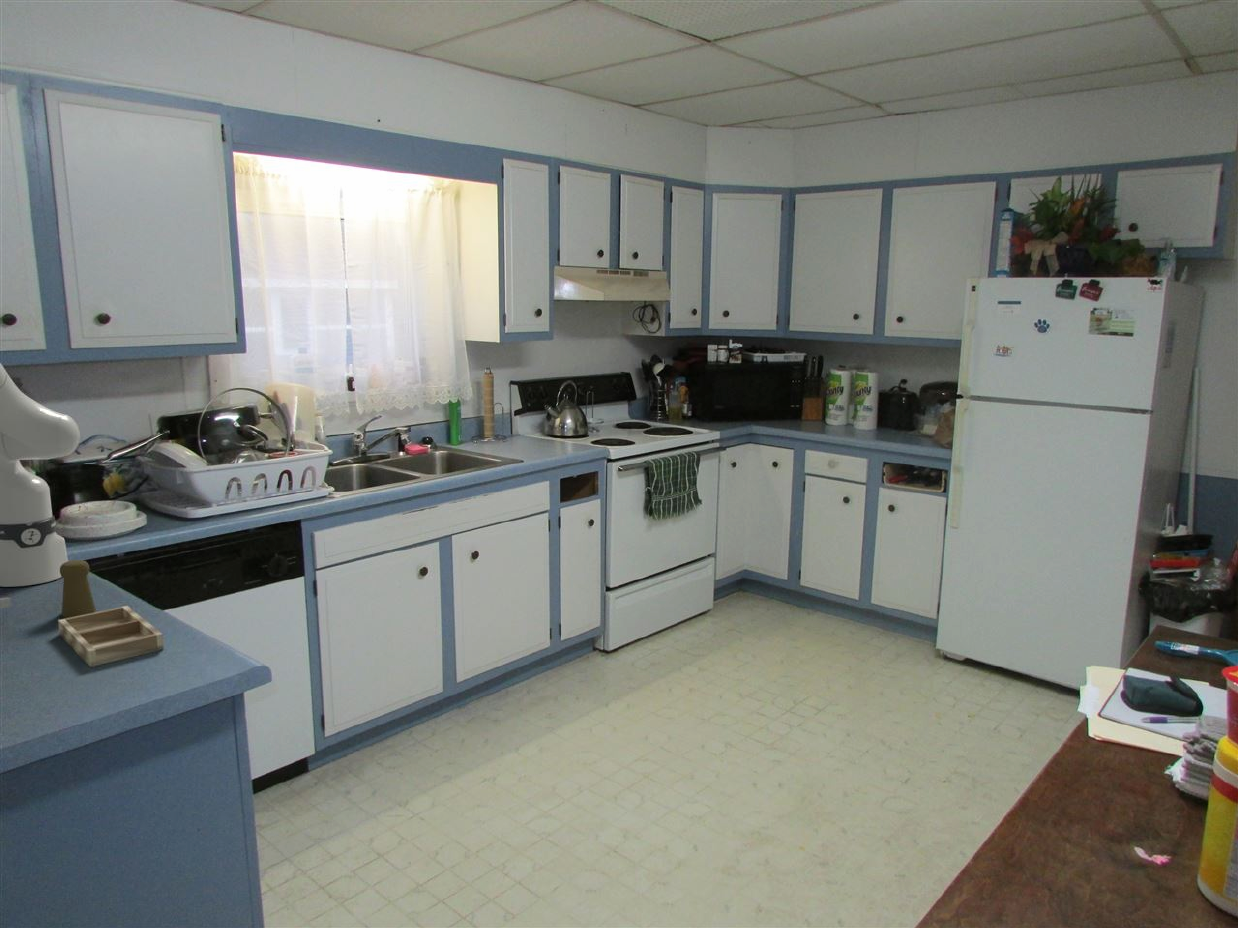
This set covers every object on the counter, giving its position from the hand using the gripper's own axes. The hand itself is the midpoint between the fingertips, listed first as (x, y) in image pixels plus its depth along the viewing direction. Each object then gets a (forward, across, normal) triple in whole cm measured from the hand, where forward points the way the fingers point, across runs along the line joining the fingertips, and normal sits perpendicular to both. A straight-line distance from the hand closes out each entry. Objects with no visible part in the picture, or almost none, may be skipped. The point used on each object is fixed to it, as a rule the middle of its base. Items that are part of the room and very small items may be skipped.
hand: (4, 595), depth 166 cm
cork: (+12, 0, +7) cm, 14 cm away
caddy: (+12, -22, +6) cm, 26 cm away
